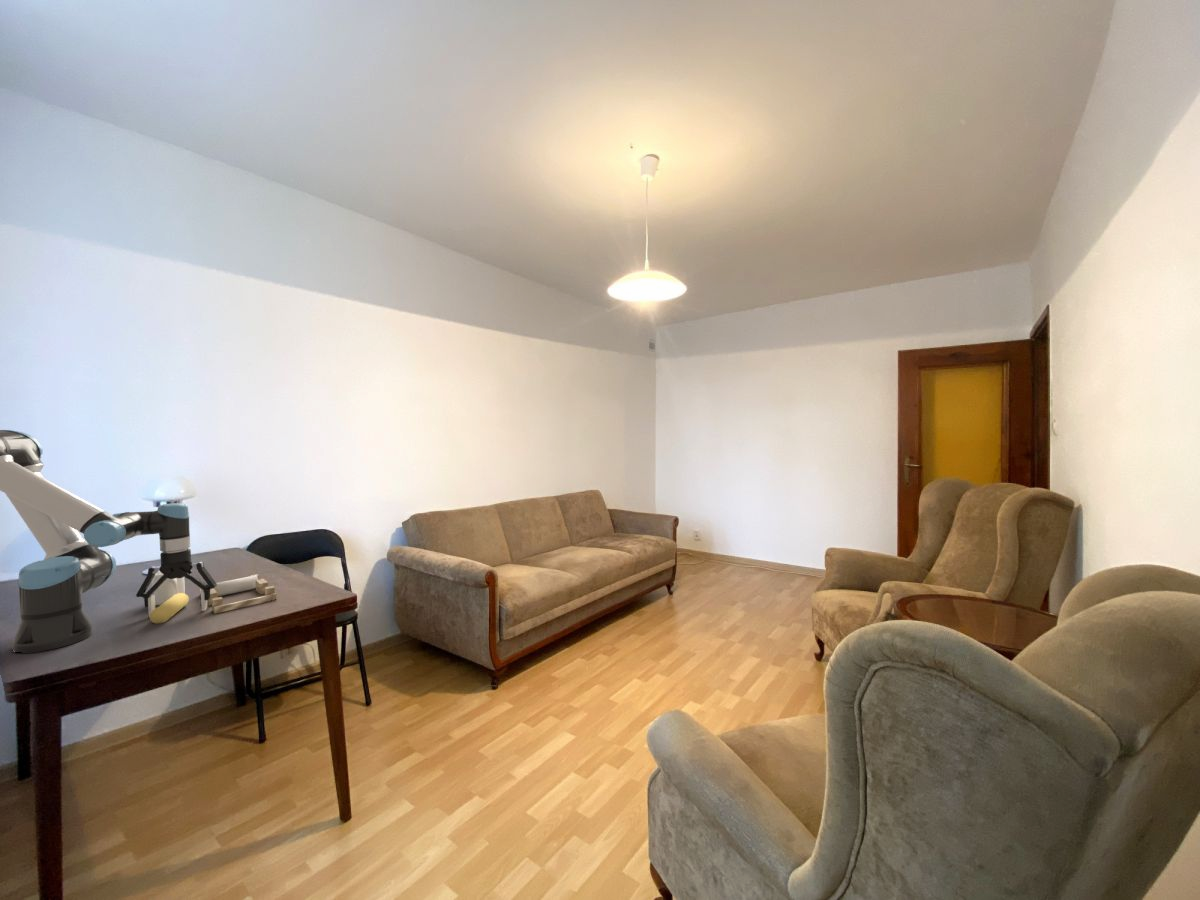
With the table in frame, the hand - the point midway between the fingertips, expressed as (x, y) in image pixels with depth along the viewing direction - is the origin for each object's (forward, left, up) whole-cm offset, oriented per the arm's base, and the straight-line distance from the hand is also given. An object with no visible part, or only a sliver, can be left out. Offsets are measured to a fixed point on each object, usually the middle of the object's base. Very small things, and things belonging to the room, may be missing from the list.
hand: (179, 613), depth 158 cm
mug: (0, +16, 0) cm, 16 cm away
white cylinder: (+17, +11, 0) cm, 20 cm away
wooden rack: (+17, +4, 0) cm, 17 cm away
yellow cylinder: (0, 0, 0) cm, 1 cm away
